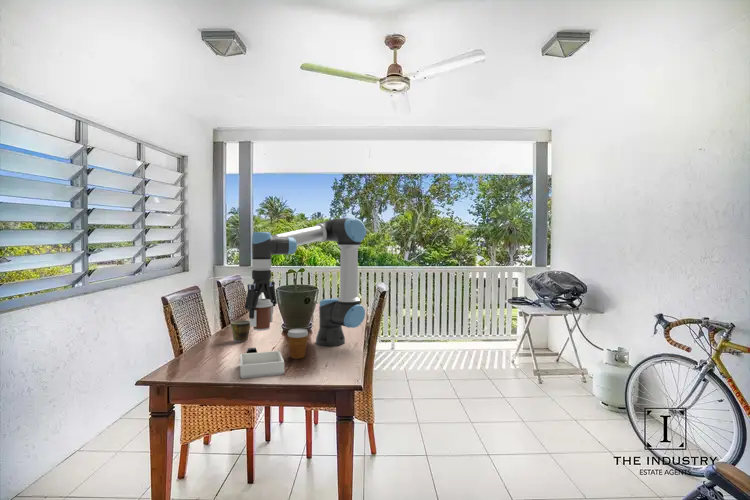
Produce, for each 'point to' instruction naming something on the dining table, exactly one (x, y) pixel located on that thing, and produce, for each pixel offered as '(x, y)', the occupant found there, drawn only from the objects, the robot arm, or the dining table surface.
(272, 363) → the box
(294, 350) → the disposable coffee cup
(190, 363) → the dining table surface
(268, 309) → the coffee cup
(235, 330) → the ceramic cup
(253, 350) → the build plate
